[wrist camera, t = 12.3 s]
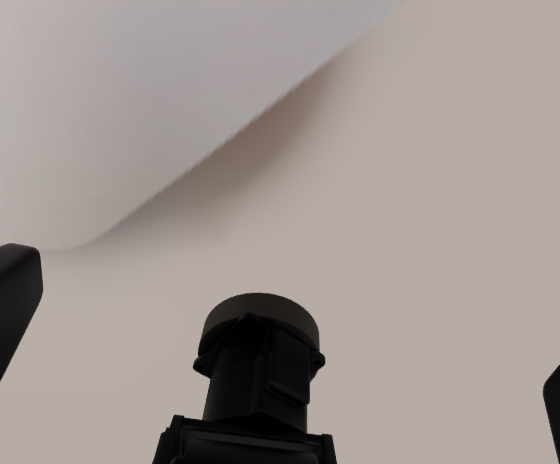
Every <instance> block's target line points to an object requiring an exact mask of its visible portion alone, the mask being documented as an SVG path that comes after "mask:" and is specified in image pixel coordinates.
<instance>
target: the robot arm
mask: <svg viewBox="0 0 560 464" xmlns="http://www.w3.org/2000/svg"><path fill="white" fill-rule="evenodd" d="M42 293H43V280H42V269H41V260H40V253H39V251H38V250H37V249H36V248H34V247H30V246H25V245H20V244H14V243H9V244H6V245H3V246H0V381H1V379H2V377H3V375H4V373H5V371H6V369H7V367H8V365H9V363H10V361H11V359H12V357H13V355H14V353H15V351H16V349H17V347H18V345H19V343H20V341H21V339H22V337H23V335H24V333H25V331H26V329H27V327H28V325H29V323H30V321H31V319H32V317H33V315H34V313H35V311H36V309H37V307H38V305H39V303H40V300H41V297H42ZM247 320H251V321H247ZM325 362H326V361H325V356H324V355H323V354H322V353H320V352H319V351H317V350H315V349H313V348H312V347H310V346H308V345H307V344H305V343H303V342H302V341H300V340H298V339H297V338H295V337H293V336H291V335H290V334H288V333H286V332H285V331H283V330H281V329H280V328H278V327H276V326H275V325H273V324H271V323H269V322H268V321H266V320H264V319H263V318H261V317H259V316H258V315H256V314H254V313H252V312H246V313H244V314H242V315H241V316H240V317H239V318H238V319H237V320H236V321H235V322H234V323H233V324H232V325H231V326H230V327H229V328H228V329H227V330H226V331H225V332H223V333H222V334H221V335H220V336H219V337H218V338H217V339H216V340H215V341H214V342H213V343H212V344H211V345H210V346H209V347H208V348H207V349H206V350H205V351H204V352H203V353H202V354H201V355H200V356H199V357H198V358H196V359H195V361H194V364H193V369H194V370H195V371H196V372H198V373H200V374H202V375H203V376H205V377H207V378H209V379H211V380H210V384H209V389H208V394H207V399H206V403H205V408H204V413H203V418H202V420H198V419H191V418H184V416H181V415H174V416H173V419H172V422H171V425H170V428H166V431H165V432H163V433H161V436H160V439H159V443H158V446H157V450H156V453H155V457H154V460H153V462H152V464H337V461H336V456H335V450H334V444H333V438H332V435H329V434H322V435H316V434H308V433H307V405H308V404H309V403H310V376H311V375H313V374H314V373H315V372H317V371H318V370H319V369H321V368H322V367H323V366H324V365H325ZM200 365H201V366H200ZM543 398H544V402H545V406H546V410H547V414H548V419H549V423H550V427H551V432H552V436H553V440H554V445H555V449H556V453H557V457H558V462H559V464H560V365H559V366H558V367H557V368H556V370H555V371H554V372H553V373H552V374H551V376H550V377H549V378H548V379H547V381H546V382H545V384H544V387H543Z"/></svg>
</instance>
